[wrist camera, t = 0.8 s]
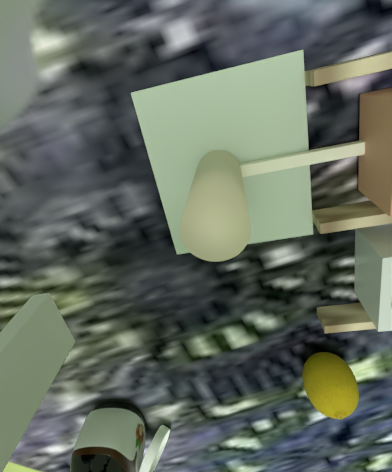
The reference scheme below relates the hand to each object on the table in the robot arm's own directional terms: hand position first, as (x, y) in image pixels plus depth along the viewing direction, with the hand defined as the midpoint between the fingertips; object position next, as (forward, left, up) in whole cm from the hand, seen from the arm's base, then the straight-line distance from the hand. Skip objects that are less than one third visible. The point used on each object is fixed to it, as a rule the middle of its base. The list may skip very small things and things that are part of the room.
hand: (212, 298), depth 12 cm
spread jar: (-20, -36, -19) cm, 45 cm away
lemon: (+8, -25, -19) cm, 32 cm away
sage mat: (+1, 0, -19) cm, 19 cm away
